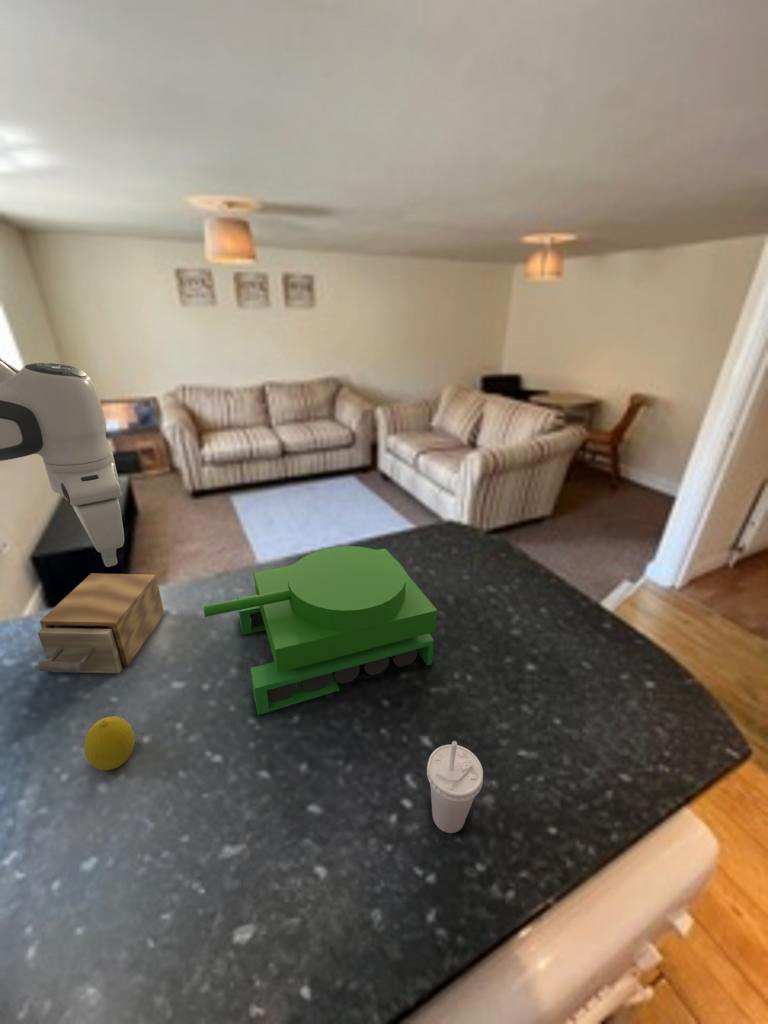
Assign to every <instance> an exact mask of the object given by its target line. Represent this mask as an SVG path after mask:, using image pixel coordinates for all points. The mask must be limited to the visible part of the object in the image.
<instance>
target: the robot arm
mask: <svg viewBox="0 0 768 1024" xmlns="http://www.w3.org/2000/svg"><path fill="white" fill-rule="evenodd" d="M106 422H107V421H106V418H105V414H104V410H103V407H102V403H101V400H100V397H99V394H98V391H97V389H96V387H95V384H94V382H93V380H92V378H91V377H90V376H89V375H88V374H87V373H86V372H85V371H84V370H82V369H79V368H76V367H75V366H70V365H66V364H61V363H51V362H49V363H46V362H33V363H29V364H25V365H24V366H23V367H22V368H21V369H20V370H19V369H18V368H16V367H14V366H13V365H11V364H10V363H8V362H7V361H6V360H4V359H3V358H1V357H0V462H3V461H9V460H13V459H14V460H15V459H20V458H24V457H28V456H31V455H39V456H41V458H42V461H43V464H44V467H45V470H46V474H47V477H48V480H49V481H48V482H49V483H50V487H51V490H52V491H53V492H54V493H56V494H59V496H62V497H63V498H64V499H65V500H66V501H67V502H68V503H70V505H71V506H72V508H73V510H74V512H75V514H76V516H77V517H78V519H79V521H80V523H81V525H82V527H83V529H84V530H85V532H86V534H87V535H88V538H90V539H89V540H90V541H91V543H92V545H93V546H94V549H95V550H96V552H98V553H100V556H101V559H102V563H103V565H104V567H106V568H110V567H114V566H117V564H118V562H119V561H118V557H117V549H120V548H122V547H123V546H124V543H125V531H124V525H123V516H122V511H121V505H120V500H119V498H120V497H121V498H122V496H123V493H122V488H121V484H120V481H119V480H120V479H119V475H118V471H117V466H116V462H115V457H114V453H113V449H112V447H111V445H110V444H109V442H108V439H107V433H106V431H107V423H106Z"/></svg>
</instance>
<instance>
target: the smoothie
mask: <svg viewBox="0 0 768 1024" xmlns="http://www.w3.org/2000/svg"><path fill="white" fill-rule="evenodd" d="M426 776H427V779H428V782H429V786H430V802H431V813H432V816H431V817H432V820H433V822H434V824H435V826H436V827H437V828H438V829H439V830H441V831H442V832H444V833H448V834H455V833H457V832H459V831H461V829H463V827H464V825H465V822H466V820H467V818H468V814H469V812H470V809H471V807H472V804H473V802H474V800H475V797H476V796H477V795H479V793H480V791H481V789H482V788H483V782H484V770H483V766H482V763H481V761H480V760H479V759H478V757H477V755H475V753H473V752H472V751H471V750H469V749H468V748H466V747H464V746H461V745H458V742H457V741H456V740H453V741H452V742H451V744H445V745H441V746H439V747H437V748H436V749H434V750H433V751H432V753H430V755H429V758H428V760H427V766H426Z"/></svg>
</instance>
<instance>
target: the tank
mask: <svg viewBox="0 0 768 1024" xmlns="http://www.w3.org/2000/svg"><path fill="white" fill-rule="evenodd" d="M253 579H254V587H255V589H254V590H255V594H251V595H247V596H246V595H245V596H242V597H236V599H232V600H231V599H230V600H227V601H221V602H217V603H216V602H215V603H211V604H205V605H203V613H204V617H205V618H206V617H211V616H216V615H222V614H226V613H232V612H235V611H238V618H239V626H240V630H241V635H242V636H245V635H246V636H247V635H249V634H253V633H254V634H255V633H258V632H262V631H265V632H266V635H267V640H268V643H269V647H270V650H271V651H270V652H271V655H272V659H273V661H272V662H268V663H264V664H260V665H257V666H253V667H250V675H251V684H252V692H253V698H254V704H255V709H256V713H257V716H260V715H263V714H266V713H267V714H268V713H270V712H273V711H276V710H279V709H283V708H285V707H289V706H293V705H295V704H299V703H302V702H303V703H304V702H305V701H306V702H307V701H309V700H312V699H316V698H319V697H323V696H326V695H328V694H332V693H335V692H339V691H340V688H339V685H338V684H343V685H344V684H346V683H350V682H353V681H354V680H355V679H357V678H358V676H359V674H360V672H361V667H360V666H361V665H362V667H363V669H364V671H365V672H366V674H368V675H370V676H374V675H377V674H381V673H383V672H384V671H385V670H387V669H388V666H389V665H390V659H391V660H392V661H393V663H394V664H395V666H396V667H400V668H401V667H406V666H409V665H411V664H412V663H414V661H415V660H416V659H417V657H418V655H419V656H420V658H421V659H422V660H423V662H424V664H425V665H426V667H428V666H430V665H433V657H434V648H435V647H434V644H435V639H434V637H432V635H431V634H432V633H435V632H436V628H437V619H438V618H437V617H438V609H437V608H436V607H435V606H434V604H433V603H432V602H431V601H430V599H429V598H428V597H427V596H426V595H425V594H424V592H423V591H422V590H421V589H420V588H419V587H418V586H417V584H416V583H415V582H414V581H413V579H412V578H411V576H410V575H408V573H407V572H406V570H405V569H404V567H403V565H402V564H401V562H399V561H398V560H397V558H395V557H394V556H393V555H392V554H391V553H390V552H389V551H388V550H387V548H381V549H374V548H371V547H366V546H365V547H364V546H357V545H356V546H355V545H340V546H332V547H331V546H330V547H327V548H322V549H319V550H316V551H313V552H310V553H308V554H307V555H304V556H303V557H302V558H299V560H297V561H296V562H295V563H294V564H290V565H283V566H279V567H274V568H268V569H263V570H257V571H253Z"/></svg>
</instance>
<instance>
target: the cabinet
mask: <svg viewBox="0 0 768 1024" xmlns="http://www.w3.org/2000/svg"><path fill="white" fill-rule="evenodd" d="M164 615H165V611H164V605H163V601H162V597H161V592H160V588H159V582H158V578H157V574H145V573H144V574H141V573H140V574H138V573H137V574H136V573H134V574H133V573H97V572H96V573H95V572H94V573H93V572H92V573H90V574H89V575H88V576H86V578H84V579H83V581H81V582H80V583H79V584H78V585H77V586H76V587H74V589H72V591H70V592H68V594H67V595H66V596H65V597H64V598H62V600H61V601H60V602H59V603H57V604H56V605H55V606H54V607H53V608H52V609H51V610H49V612H47V613H46V614H45V615H44V616H43V617H42V618H41V619H40V620H39V623H40V624H39V625H40V626H41V629H42V628H55V627H54V625H72V626H112V627H113V631H114V634H115V638H116V642H117V645H118V649H119V652H120V656H121V660H122V661H121V664H122V667H123V666H124V667H128V666H129V665H130V664H131V662H132V661H133V659H134V658H135V656H136V655H137V653H138V652H139V650H141V648H142V646H143V645H144V644H145V642H146V641H147V639H148V638H149V636H150V635H151V634H152V633H153V631H154V629H155V628H156V626H158V624H159V622H160V621H161V620H162V619H163V617H164Z"/></svg>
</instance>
